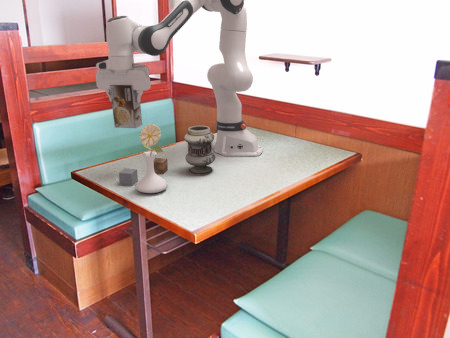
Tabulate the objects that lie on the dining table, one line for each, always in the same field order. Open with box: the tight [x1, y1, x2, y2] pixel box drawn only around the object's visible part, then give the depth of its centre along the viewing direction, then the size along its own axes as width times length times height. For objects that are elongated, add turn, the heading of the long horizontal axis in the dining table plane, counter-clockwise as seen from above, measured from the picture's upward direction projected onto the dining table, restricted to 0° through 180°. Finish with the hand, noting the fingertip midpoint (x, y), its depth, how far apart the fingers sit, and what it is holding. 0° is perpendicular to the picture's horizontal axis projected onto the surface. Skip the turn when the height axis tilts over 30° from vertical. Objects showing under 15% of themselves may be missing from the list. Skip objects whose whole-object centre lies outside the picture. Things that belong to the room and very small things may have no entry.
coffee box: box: [110, 85, 143, 129], centre depth 156 cm, size 9×6×16 cm
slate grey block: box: [118, 167, 139, 187], centre depth 156 cm, size 5×5×5 cm
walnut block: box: [154, 157, 169, 175], centre depth 167 cm, size 5×5×5 cm
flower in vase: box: [135, 123, 169, 194], centre depth 146 cm, size 13×11×25 cm
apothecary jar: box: [183, 125, 216, 176], centre depth 165 cm, size 12×12×18 cm
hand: (125, 101), depth 155 cm, fingers closed on coffee box, 8 cm apart
